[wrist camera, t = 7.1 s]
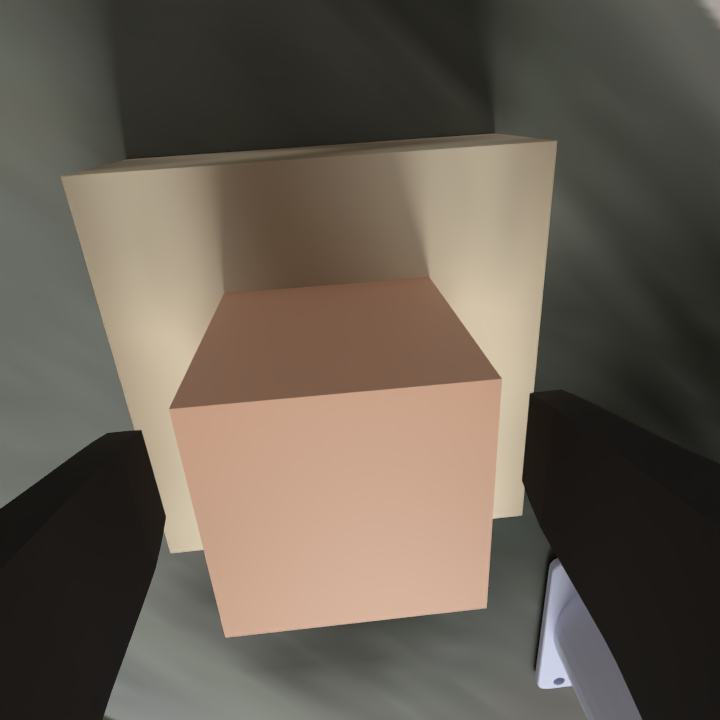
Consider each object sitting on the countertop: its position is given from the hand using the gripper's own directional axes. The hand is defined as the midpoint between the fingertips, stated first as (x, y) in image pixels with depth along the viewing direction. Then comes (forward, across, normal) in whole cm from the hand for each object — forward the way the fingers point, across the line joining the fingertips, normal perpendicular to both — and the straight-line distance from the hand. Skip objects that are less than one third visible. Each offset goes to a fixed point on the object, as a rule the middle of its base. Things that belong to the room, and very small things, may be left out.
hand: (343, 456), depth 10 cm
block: (+3, 0, 0) cm, 3 cm away
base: (+7, 0, 0) cm, 7 cm away
